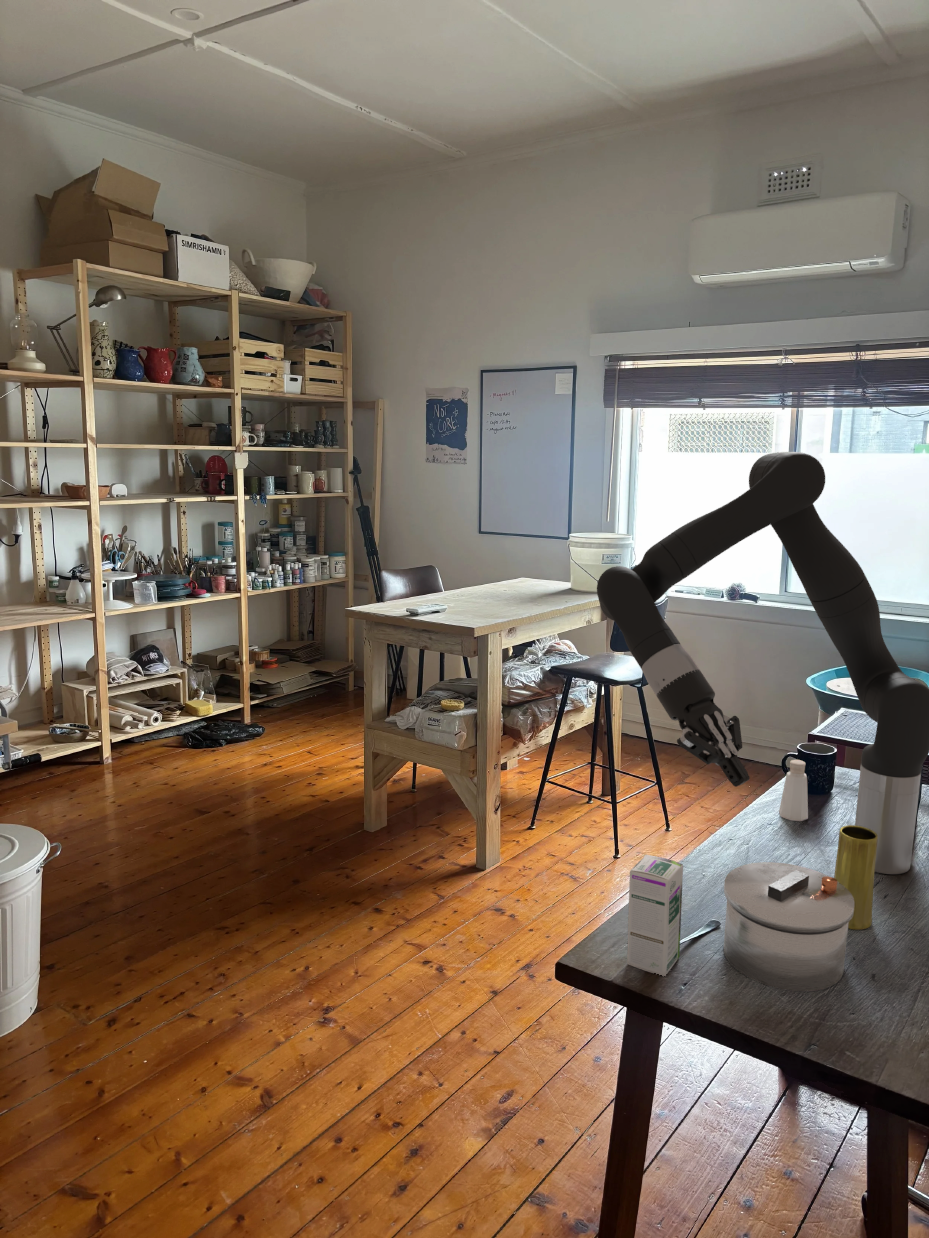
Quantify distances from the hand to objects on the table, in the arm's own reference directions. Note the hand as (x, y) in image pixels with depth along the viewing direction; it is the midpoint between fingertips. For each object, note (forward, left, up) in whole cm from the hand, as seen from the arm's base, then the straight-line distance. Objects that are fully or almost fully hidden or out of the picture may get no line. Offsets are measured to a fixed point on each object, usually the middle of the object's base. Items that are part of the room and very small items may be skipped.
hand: (742, 782), depth 129 cm
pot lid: (0, +8, -14) cm, 17 cm away
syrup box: (+15, -3, -24) cm, 28 cm away
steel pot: (0, +8, -23) cm, 25 cm away
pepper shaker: (-45, -17, -24) cm, 54 cm away
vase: (-17, +9, -24) cm, 31 cm away
